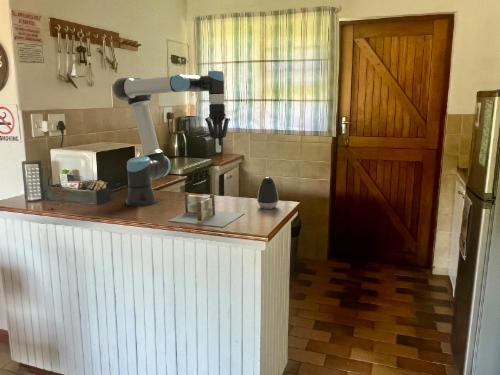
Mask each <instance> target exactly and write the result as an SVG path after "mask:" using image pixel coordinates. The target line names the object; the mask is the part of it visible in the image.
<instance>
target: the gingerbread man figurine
mask: <svg viewBox="0 0 500 375" xmlns="http://www.w3.org/2000/svg"><path fill="white" fill-rule="evenodd" d="M62 192H64V193H62ZM54 193H57V194H54ZM51 194H52V195H53V196H56V199H55V203H54V205H53V207H54V206H58V205H62V204H66V203H67V201H66V200H65V199H64V198H65V197H67V196H68V193H67V191H66V190H63V186H62V184H59V183H58V184H55V187H54V188H52V189H51ZM61 199H62V200H63V201H62V200H61ZM57 202H58V203H57ZM60 203H61V204H60Z"/></svg>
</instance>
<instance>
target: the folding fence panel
mask: <svg viewBox="0 0 500 375" xmlns="http://www.w3.org/2000/svg"><path fill="white" fill-rule="evenodd" d="M211 215H213V211H212V198H208V199H205V200H203V201H201V202H197V216H198V220H202V219H204V218H206V217H209V216H211Z"/></svg>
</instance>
